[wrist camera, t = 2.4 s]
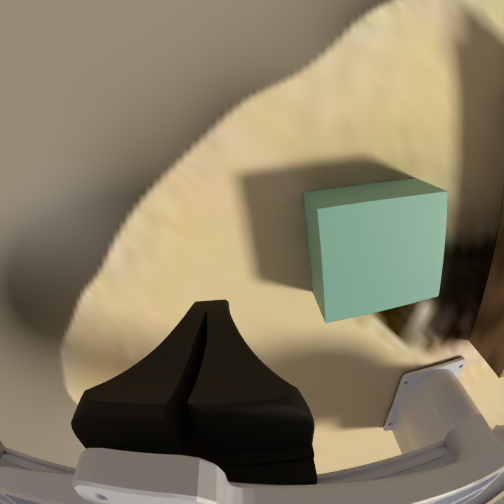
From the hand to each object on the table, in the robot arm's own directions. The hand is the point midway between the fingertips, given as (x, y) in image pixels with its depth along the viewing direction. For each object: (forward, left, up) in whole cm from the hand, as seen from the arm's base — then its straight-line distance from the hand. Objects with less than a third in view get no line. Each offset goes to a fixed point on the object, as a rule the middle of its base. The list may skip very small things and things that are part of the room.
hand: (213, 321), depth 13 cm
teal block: (0, -10, -8) cm, 13 cm away
